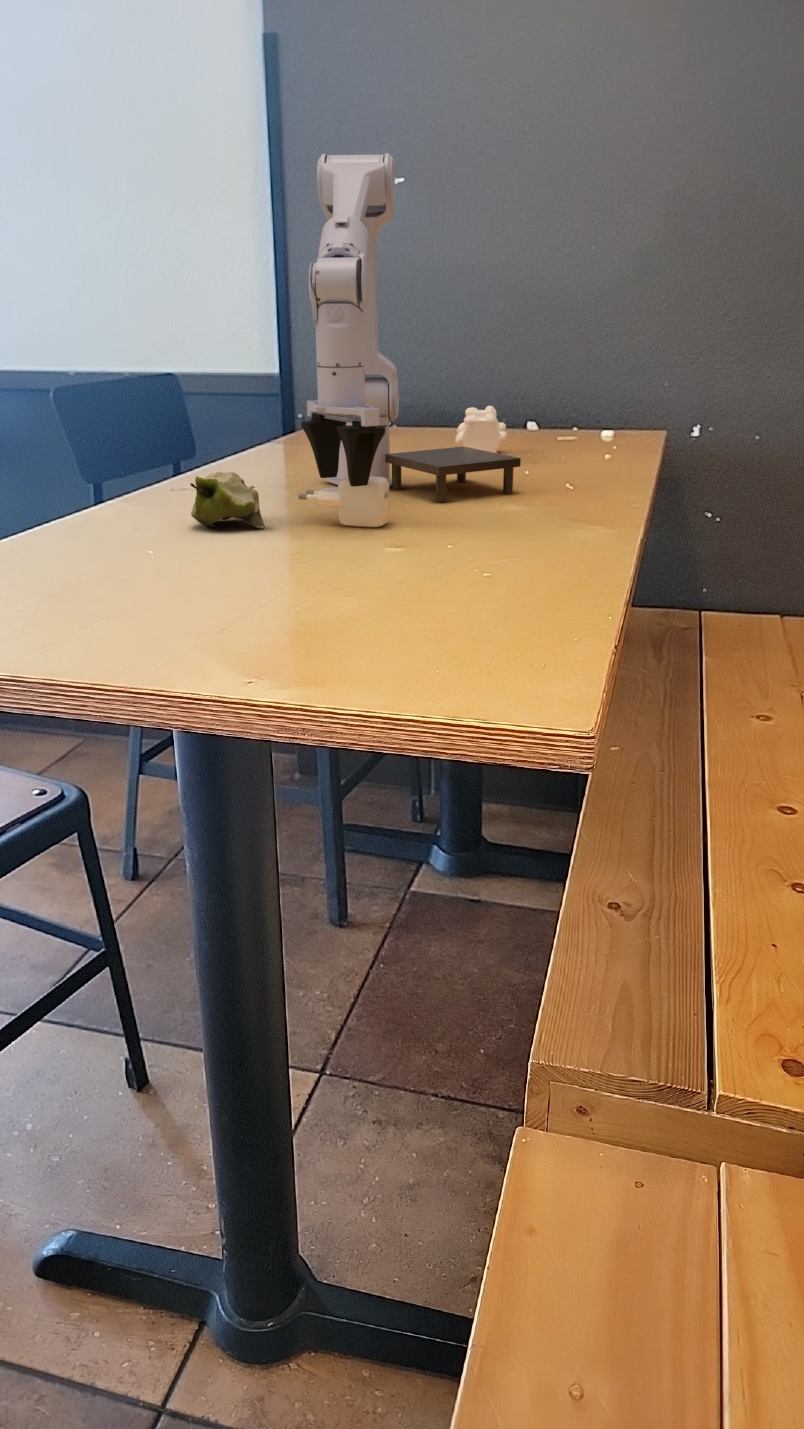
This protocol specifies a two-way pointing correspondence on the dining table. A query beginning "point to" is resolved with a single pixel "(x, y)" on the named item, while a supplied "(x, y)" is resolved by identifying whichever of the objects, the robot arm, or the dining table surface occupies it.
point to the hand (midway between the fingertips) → (343, 481)
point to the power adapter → (356, 501)
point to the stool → (452, 465)
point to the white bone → (481, 430)
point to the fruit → (225, 500)
